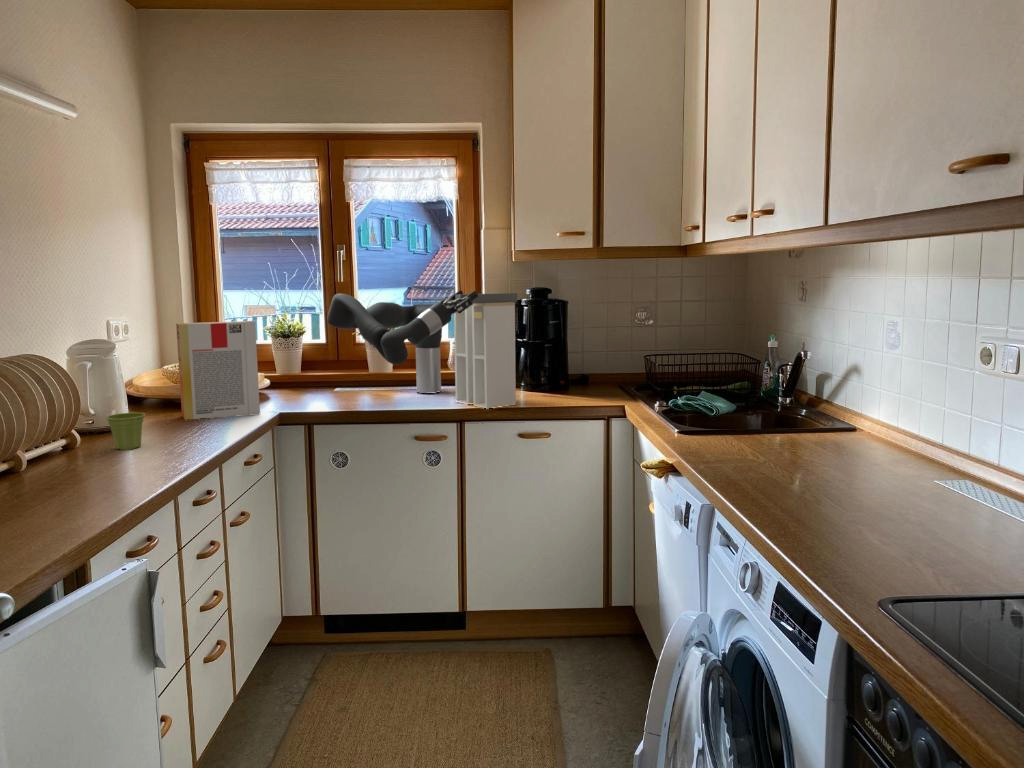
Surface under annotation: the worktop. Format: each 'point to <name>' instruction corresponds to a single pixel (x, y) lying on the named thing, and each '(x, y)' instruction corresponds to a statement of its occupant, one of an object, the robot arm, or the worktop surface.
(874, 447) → the worktop surface
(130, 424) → the plant pot
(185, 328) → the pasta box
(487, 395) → the rack
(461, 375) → the rack
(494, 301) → the slat
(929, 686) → the worktop surface
